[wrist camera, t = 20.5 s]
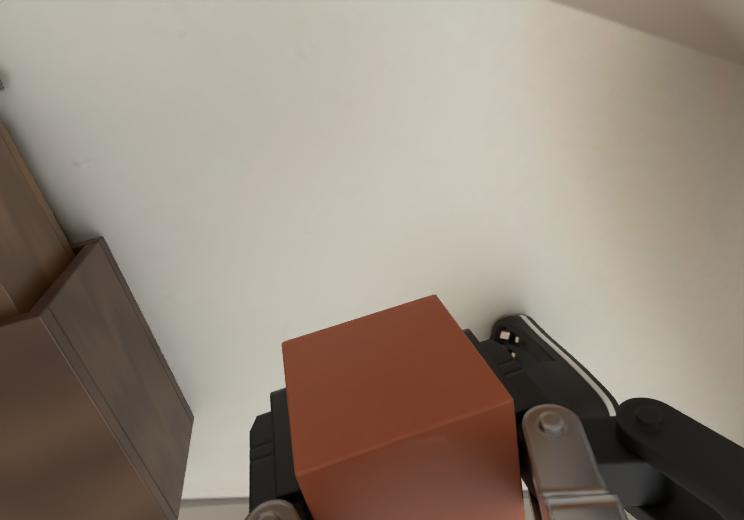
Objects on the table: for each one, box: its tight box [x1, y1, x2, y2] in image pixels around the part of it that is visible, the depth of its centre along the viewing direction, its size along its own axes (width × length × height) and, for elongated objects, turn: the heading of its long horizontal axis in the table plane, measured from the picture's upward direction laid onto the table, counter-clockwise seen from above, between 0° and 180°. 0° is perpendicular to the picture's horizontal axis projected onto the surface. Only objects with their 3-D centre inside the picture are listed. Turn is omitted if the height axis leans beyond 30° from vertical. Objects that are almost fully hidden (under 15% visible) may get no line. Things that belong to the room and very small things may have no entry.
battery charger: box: [491, 315, 619, 417], centre depth 33 cm, size 7×4×11 cm, turn 175°
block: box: [282, 295, 525, 520], centre depth 12 cm, size 5×5×5 cm
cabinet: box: [0, 237, 194, 520], centre depth 26 cm, size 15×13×9 cm
